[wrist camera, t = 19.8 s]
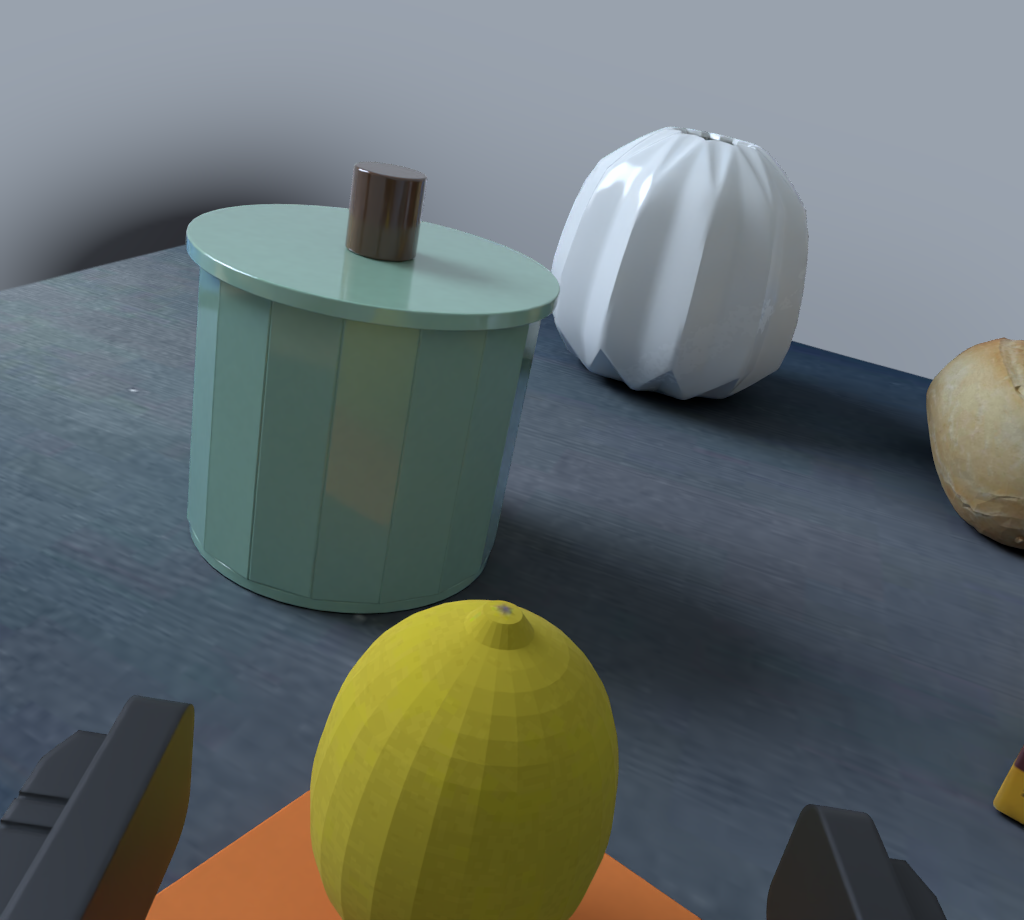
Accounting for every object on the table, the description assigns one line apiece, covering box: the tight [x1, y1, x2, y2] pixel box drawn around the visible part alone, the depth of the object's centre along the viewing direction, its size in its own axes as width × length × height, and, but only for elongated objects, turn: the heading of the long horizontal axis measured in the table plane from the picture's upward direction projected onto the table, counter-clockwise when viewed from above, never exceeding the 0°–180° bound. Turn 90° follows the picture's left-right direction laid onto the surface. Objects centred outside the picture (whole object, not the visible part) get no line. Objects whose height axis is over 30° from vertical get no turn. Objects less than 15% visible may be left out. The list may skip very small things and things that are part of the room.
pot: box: [187, 268, 541, 613], centre depth 32 cm, size 10×10×9 cm
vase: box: [551, 127, 809, 400], centre depth 53 cm, size 14×14×13 cm
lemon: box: [310, 600, 619, 920], centre depth 18 cm, size 6×6×8 cm
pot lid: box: [186, 162, 560, 331], centre depth 29 cm, size 11×11×4 cm
